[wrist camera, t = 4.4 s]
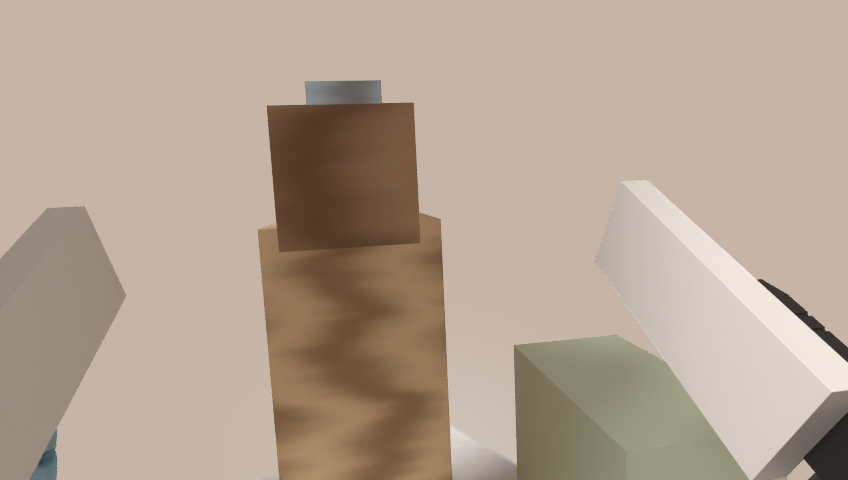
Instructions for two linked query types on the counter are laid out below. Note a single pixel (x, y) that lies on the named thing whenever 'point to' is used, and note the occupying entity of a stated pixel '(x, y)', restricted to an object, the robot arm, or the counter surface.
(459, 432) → the counter surface
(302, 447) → the oak stand
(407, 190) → the beam
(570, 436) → the sage green upright block
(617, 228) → the robot arm
